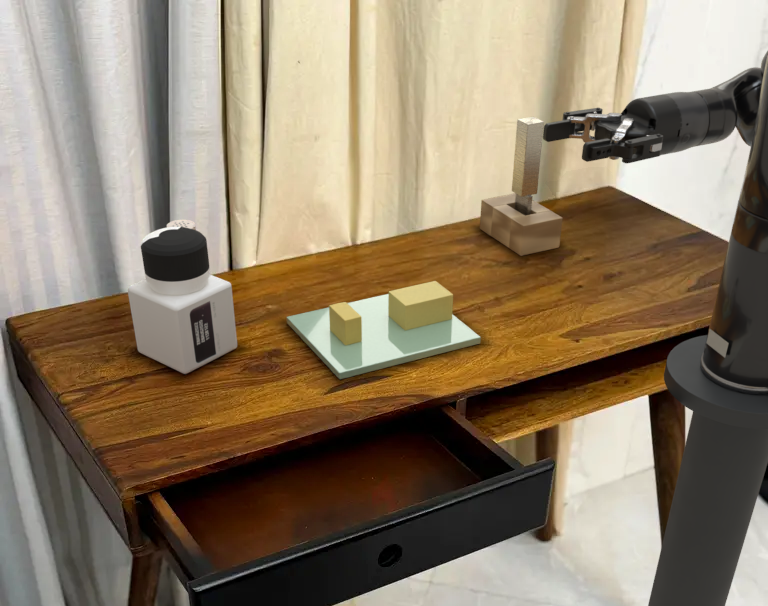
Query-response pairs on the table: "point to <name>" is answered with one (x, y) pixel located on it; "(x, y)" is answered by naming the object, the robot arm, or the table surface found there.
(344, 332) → the block
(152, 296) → the container
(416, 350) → the butter board
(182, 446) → the table surface
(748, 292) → the robot arm
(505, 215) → the knife stand
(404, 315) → the butter block
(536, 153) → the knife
